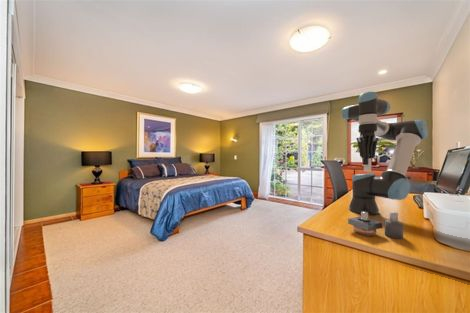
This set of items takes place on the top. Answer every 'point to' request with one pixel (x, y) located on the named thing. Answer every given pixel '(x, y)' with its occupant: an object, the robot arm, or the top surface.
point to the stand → (394, 227)
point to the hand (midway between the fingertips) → (367, 171)
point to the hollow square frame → (365, 223)
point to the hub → (361, 231)
